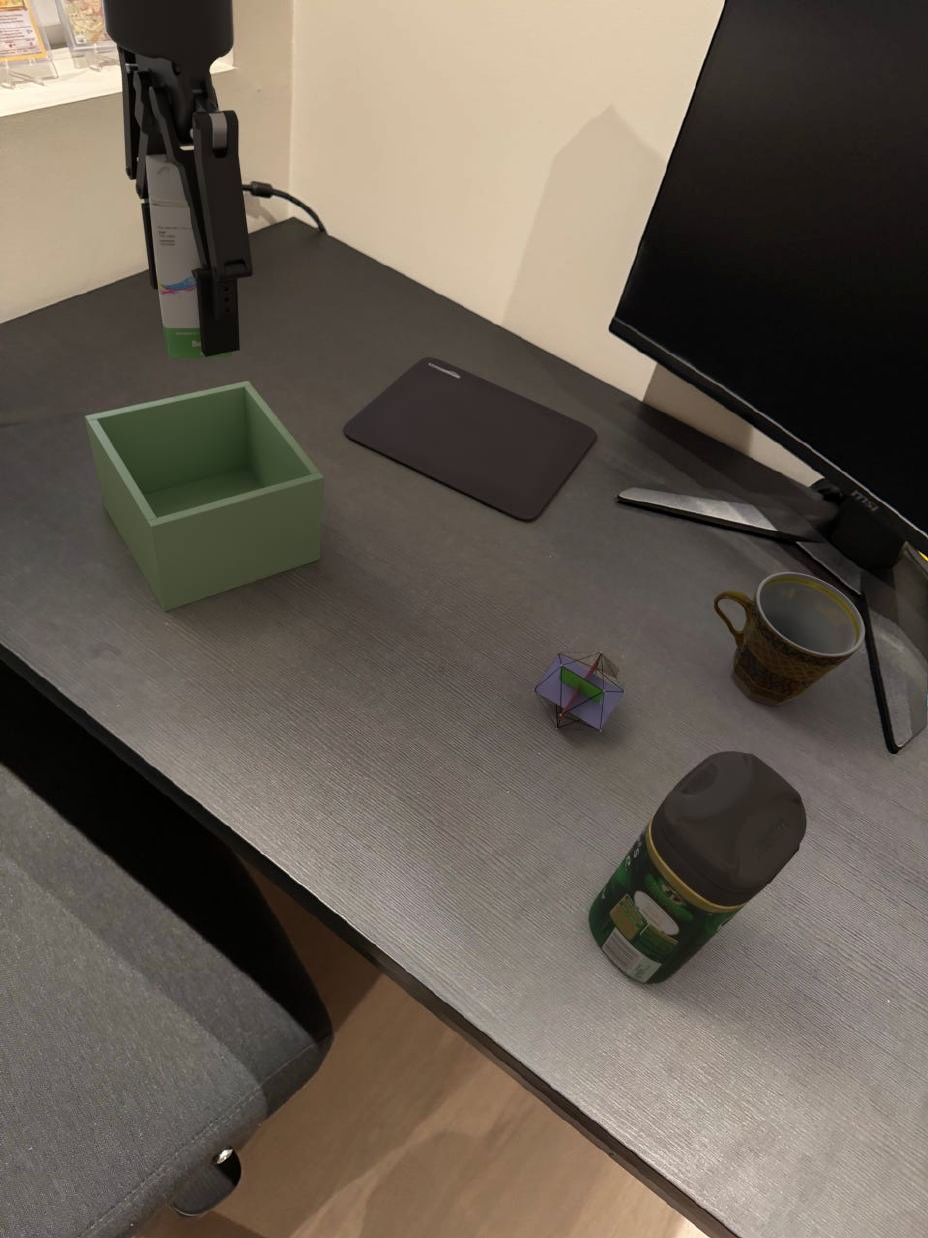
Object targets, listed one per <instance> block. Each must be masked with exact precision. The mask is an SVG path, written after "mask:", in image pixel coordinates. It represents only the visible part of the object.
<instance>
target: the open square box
mask: <svg viewBox="0 0 928 1238" xmlns="http://www.w3.org/2000/svg"><path fill="white" fill-rule="evenodd" d="M84 419H85V424H86V428H87V434H88V439H89V443H90V448H91V453H92V458H93V462H94V467H95V473H96V476H97V477H96V478H97V482H98V488H99V491H100V496H101V501H102V505H103V507H104V508H105V511H106V512H107V514H108V515H109V517H110V519H111V521H112V522H113V525H114V526H115V528H116V530H117V532H118V533H119V535H120V536H121V538H122V541H123V542H124V544H125V546H126V547H127V549H128V551H129V553H130V554H131V556H132V558H133V560H134V561H135V563H136V565H137V567H138V568H139V570H140V572H141V574H142V576H143V577H144V579H145V581H146V583H147V584H148V586H149V589H150V590H151V591H152V593H153V595H154V597H155V599H156V600H157V602H158V603H159V605H160V607H161V609H162V610H163V612H168V611H171V610H173V609H177V608H179V607H182V606H186V605H188V604H191V603H195V602H197V601H201V600H203V599H207V598H209V597H212V596H215V595H219V594H222V593H224V592H227V591H230V590H233V589H235V588H238V587H242V586H244V585H248V584H250V583H253V582H256V581H259V580H260V581H261V580H262V579H266V578H269V577H272V576H274V575H277V574H280V573H283V572H286V571H289V570H292V569H296V568H298V567H301V566H304V565H308V564H310V563H312V562H316V561H318V560H321V542H322V541H321V540H322V525H323V523H322V522H323V503H324V484H325V476H324V475H323V474H322V473H321V471H320V470H319V469H318V468H317V466H316V465H315V464H314V462H313V461H312V460H311V458H310V457H309V456H308V454H306V452H305V450H304V449H302V447H301V445H299V443H298V442H297V441H296V440H295V438H294V437H293V436H292V434H291V433H290V432H289V430H288V429H287V428H286V426H285V425H284V424H283V423H282V421H280V419H279V418H278V417H277V415H276V414H275V413H274V411H273V410H272V409H271V408H270V406H269V405H268V404H267V403H266V401H265V400H264V399H263V398H262V396H261V395H260V394H259V393H258V392H257V390H256V388H255V387H254V386H253V385H252V383H251V382H250V381H249V380H245V381H241V382H236V383H232V384H231V383H230V384H226V385H222V386H218V387H212V388H208V389H203V390H199V391H195V392H190V393H185V394H180V395H176V396H172V397H167V398H162V399H157V400H153V401H148V402H143V403H139V404H134V405H130V406H125V407H120V408H115V409H111V410H107V411H102V412H97V413H93V414H88V415H85V416H84Z"/></svg>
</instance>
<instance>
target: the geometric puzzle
mask: <svg viewBox="0 0 928 1238" xmlns="http://www.w3.org/2000/svg"><path fill="white" fill-rule="evenodd" d="M564 653H573V654H574V653H578V654H579V653H584V654H587V653H594V654H591V655H588V656H585V657H583V658H579V659H575V658H573V657H570V656H568V655H566V654H563V653H562V652H561V651H558V652H557V654H556V655H555V657H554V658H553V660H552V662H550V664H549V665H548V668H547V669H546V671H545V672H544V673H543V675H542V677H540V679H539V681H538V682H537V684H536V686H535V687H534V688H533V689H532V691H534V693H535V694H536V697H537V698H538V699H539V701H540V702H541V704H542V706H543V708H544V710H546V712H547V714H548V716H549V717H550V719H551V721H552V722H553V725H554V726H555V727H556V730H559V729H560V730H563V727H566V726H570V725H572V724H574V723H579V724H582V725H584V726H587V727H590V728H591V729H593V730H595V731H599V732H602V729H603V727H604V726H605V724H606V723H607V721H608V720H609V718H610V716H611V714H612V713H613V712H614V710H615V708H616V707H617V705H618V703H619V702H620V700H621V699H622V697H623V696H624V694H626V691H625V689H624V684H623V680H622V675H621V670H620V668H619V667H618V666H617V664H616V663H615V662H614V661H613V660H612V659H610V658H609V657H607V656H606V655H605V654H604V653H603V652H602V651H599V652H598V651H593V652H591V651H589V652H587V651H586V652H585V651H583V652H581V651H580V652H576V651H575V652H572V651H571V652H568V651H567V652H564ZM596 655H598V656H597V658H596V660H595V661H594V662H593V664H592V666H591V665H589V664H587V663H585V662H582V661H581V660H583V659H586V658H589V657H594V656H596ZM577 662H578V663H577ZM579 663H581V664H583V665H585V666H588V667H590V669H589V670H588V669H587V668H585V667H584V666H582V665H580V664H579ZM597 671H598V672H599V673H600V674H601V675H602V676H603V677H600V676H598V675H597ZM594 672H595V673H594ZM605 674H606V675H607V676H609V677H612V678H614V679H615V680H616V682H617V683H618V684H619V685H617V684H616V683H615V682H613V680H611V679H610V678H608V677H607V676H606V675H605ZM604 677H605V678H606V679H607V680H609V681H607V680H605V679H604ZM610 682H611V683H610ZM539 696H540V697H539ZM544 697H545V698H544ZM540 698H542V700H543V701H544V702H546V703H547V704H548V705H549V706H550V707H551V708H552V709H553V710H554V711H556V712H555V713H556V717H555V718H556V723H555V722H554V720H553V719H552V717H551V715H550V714H549V712H548V710H547V709H546V707H545V704H543V702H542V701H541V699H540ZM546 699H548V700H550V701H551V702H553V703H555V708H554V706H552V704H550V703H549V702H548V701H547V700H546ZM558 706H559V709H560V710H558ZM562 709H563V711H562ZM568 713H570V714H572V715H574V716H576V717H577V718H579V719H578V720H576V719H573V718H572V717H568V716H567V714H568ZM558 715H559V717H558ZM558 718H559V719H558ZM565 718H566V719H569V720H571V721H572V722H570V723H569V722H568V723H566V724H563V725H561V723H562V722H563V720H564V719H565ZM581 721H584V722H585V723H583V722H581ZM586 723H587V724H586ZM560 725H561V726H560ZM575 730H577V731H578V730H581V731H583V729H580V728H577V729H576V728H575Z"/></svg>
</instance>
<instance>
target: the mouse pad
mask: <svg viewBox="0 0 928 1238" xmlns="http://www.w3.org/2000/svg"><path fill="white" fill-rule="evenodd" d="M342 431H343V434H344V435H345V436H346V437H347V438H349V439H350V440H352V441H354V442H356V443H359V444H360V445H362V446H365V447H367V448H369V449H371V450H373V451H375V452H377V453H379V454H381V455H383V456H385V457H388V458H390V459H392V460H394V461H396V462H398V463H400V464H402V465H404V466H407V467H409V468H411V469H413V470H415V471H417V472H419V473H420V474H423V475H425V476H427V477H429V478H431V479H433V480H435V481H437V482H440V483H442V484H444V485H446V486H448V487H450V488H453V489H454V490H456V491H458V492H461V493H463V494H465V495H466V496H469V497H470V498H473V499H475V500H478V501H479V502H482V503H483V504H486V505H488V506H490V507H493V508H494V509H496V510H498V511H501V512H502V513H505V514H507V515H509V516H511V517H513V518H516V519H518V520H521V521H532V520H534V519H536V518H537V517H538V516H539V515H540V514H541V513H542V512H543V510H544V508H545V507H546V506H547V504H548V503H549V502H550V500H551V499H552V498H553V496H554V495H555V494H556V493H557V491H558V490H559V488H560V487H561V486H562V485H563V484H564V482H565V480H566V479H567V478H568V477H569V475H570V474H571V472H572V471H573V470H574V468H575V467H577V465H578V463H579V462H580V461H581V459H582V458H583V456H584V455H585V454H586V452H587V451H588V450H589V448H590V447H591V446H592V444H593V443H594V442H595V440H596V438H597V432H596V430H595V429H594V428H592V426H590V425H588V424H586V423H583V422H581V421H579V420H577V419H574V418H572V417H570V416H567V415H566V414H563V413H561V412H559V411H556V410H555V409H552V408H550V407H548V406H545V405H543V404H541V403H538V402H537V401H534V400H532V399H530V398H528V397H526V396H523V395H521V394H518V393H516V392H515V391H511V390H510V389H508V388H505V387H503V386H500V385H498V384H496V383H493V382H492V381H489V380H487V379H485V378H483V377H480V376H478V375H476V374H473V373H471V372H469V371H467V370H464V369H462V368H460V367H458V366H455V365H454V364H451V363H449V362H446V361H444V360H442V359H439V358H437V357H431V356H427V357H426V356H425V357H423V358H421V359H420V360H418V361H417V362H416V363H415V364H414V365H412V367H410V368H409V369H408V370H407V371H405V372H404V373H403V374H402V375H401V376H399V377H398V378H397V379H396V380H395V381H394V382H393V383H391V384H390V385H389V386H388V387H386V389H385V390H383V391H382V392H381V393H380V394H379V395H377V396H376V397H375V398H374V399H373V400H372V401H371V402H369V403H368V404H367V405H366V406H365V407H363V408H362V410H360V411H359V412H358V413H357V414H356V415H355V416H353V417H352V418H351V419H350V420H348V421H347V422H346V423H345V425H344V426H343V430H342Z"/></svg>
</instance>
